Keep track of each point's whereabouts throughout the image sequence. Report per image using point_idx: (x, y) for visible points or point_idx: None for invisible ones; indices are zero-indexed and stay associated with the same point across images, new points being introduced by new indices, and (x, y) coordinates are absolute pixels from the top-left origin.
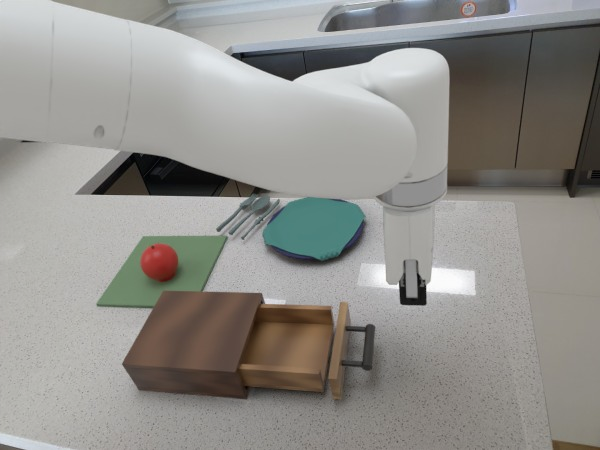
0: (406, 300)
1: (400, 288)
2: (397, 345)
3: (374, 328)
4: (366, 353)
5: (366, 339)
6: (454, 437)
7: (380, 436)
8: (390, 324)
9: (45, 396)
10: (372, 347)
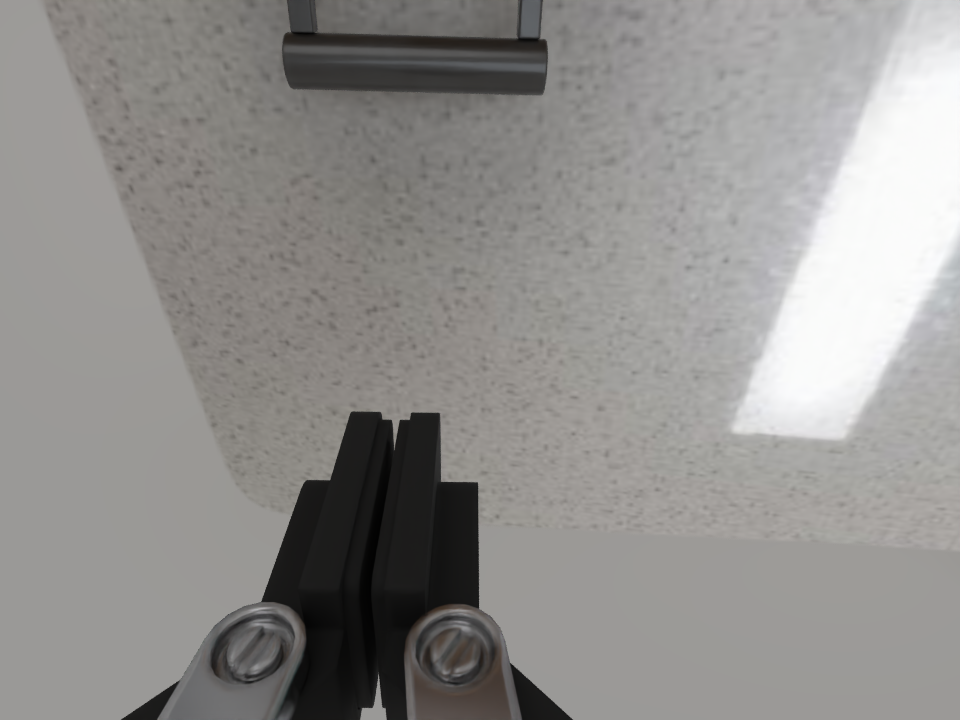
0: (297, 501)
1: (318, 535)
2: (523, 169)
3: (526, 93)
4: (349, 59)
5: (443, 53)
6: (195, 336)
7: (113, 106)
8: (635, 138)
9: None
10: (400, 88)
